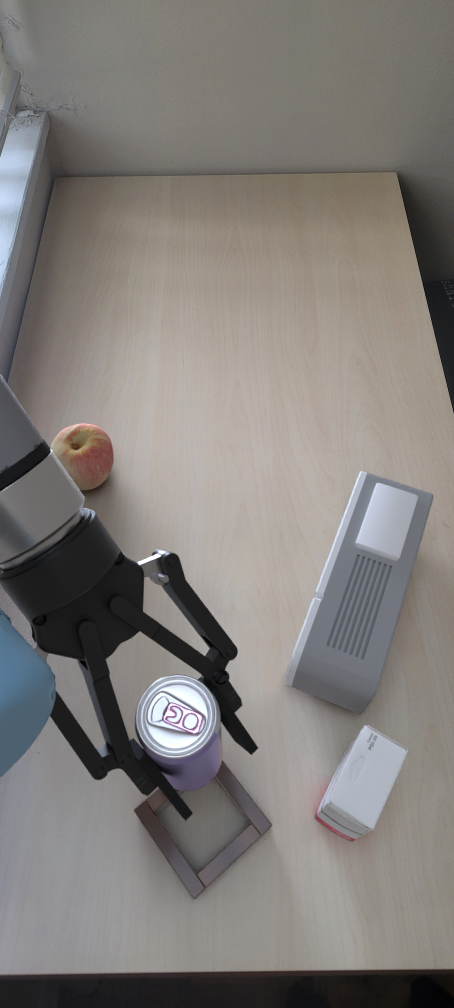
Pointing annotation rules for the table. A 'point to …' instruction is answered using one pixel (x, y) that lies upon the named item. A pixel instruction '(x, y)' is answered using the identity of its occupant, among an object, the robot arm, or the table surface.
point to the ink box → (361, 784)
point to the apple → (84, 454)
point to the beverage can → (181, 730)
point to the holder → (228, 855)
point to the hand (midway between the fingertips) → (214, 775)
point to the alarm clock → (360, 594)
